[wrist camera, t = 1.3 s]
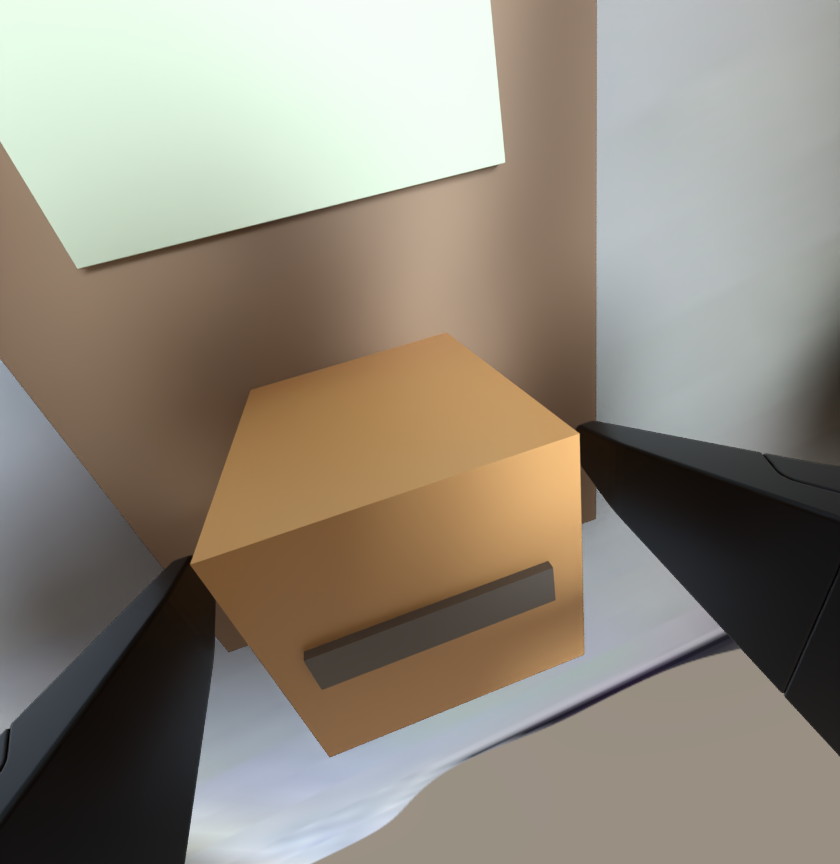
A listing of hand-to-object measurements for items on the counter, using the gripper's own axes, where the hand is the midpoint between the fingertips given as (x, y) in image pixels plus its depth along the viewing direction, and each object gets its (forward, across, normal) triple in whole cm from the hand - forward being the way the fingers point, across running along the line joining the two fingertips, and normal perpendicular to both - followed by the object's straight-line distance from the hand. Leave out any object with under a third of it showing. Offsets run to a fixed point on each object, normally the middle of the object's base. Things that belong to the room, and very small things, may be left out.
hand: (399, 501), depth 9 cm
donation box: (+3, 0, 0) cm, 3 cm away
